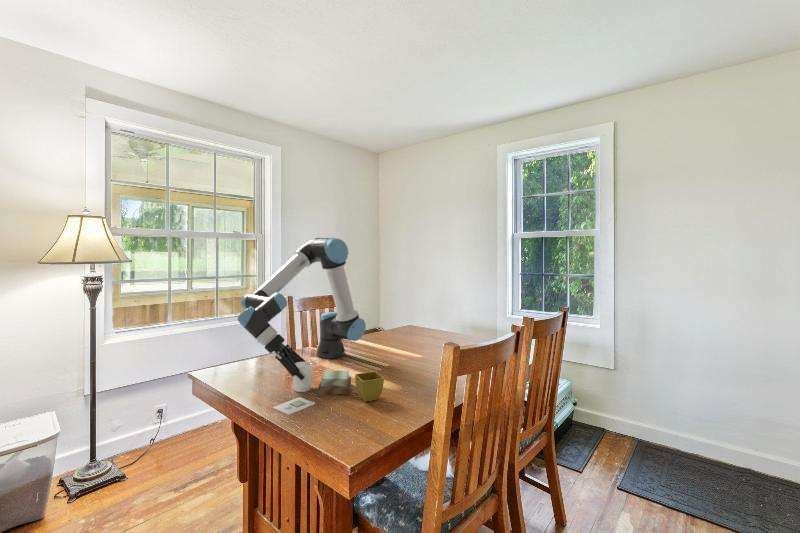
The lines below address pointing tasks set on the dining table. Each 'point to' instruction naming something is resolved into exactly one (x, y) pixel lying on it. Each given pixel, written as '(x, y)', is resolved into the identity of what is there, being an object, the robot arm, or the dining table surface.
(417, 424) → the dining table surface
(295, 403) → the page
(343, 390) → the tower base
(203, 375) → the dining table surface
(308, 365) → the white cup
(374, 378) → the flower pot
